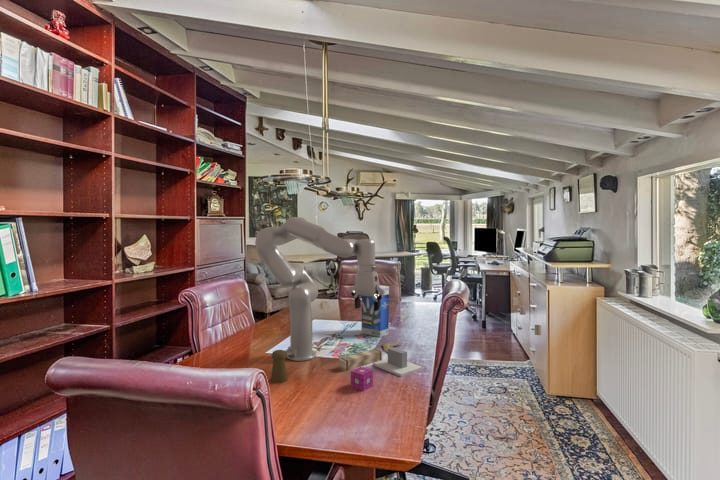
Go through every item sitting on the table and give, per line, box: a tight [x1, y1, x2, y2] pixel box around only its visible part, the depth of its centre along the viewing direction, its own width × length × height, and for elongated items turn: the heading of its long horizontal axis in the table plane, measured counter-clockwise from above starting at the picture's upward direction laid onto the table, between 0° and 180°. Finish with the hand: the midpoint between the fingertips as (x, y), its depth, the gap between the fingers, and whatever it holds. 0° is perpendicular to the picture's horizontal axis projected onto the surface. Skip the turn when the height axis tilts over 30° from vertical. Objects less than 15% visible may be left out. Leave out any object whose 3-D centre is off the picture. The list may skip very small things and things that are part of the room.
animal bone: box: [381, 341, 403, 354], centre depth 175 cm, size 21×2×10 cm
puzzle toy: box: [350, 366, 374, 392], centre depth 138 cm, size 6×6×6 cm
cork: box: [270, 349, 288, 384], centre depth 143 cm, size 6×6×11 cm
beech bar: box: [338, 348, 383, 372], centre depth 160 cm, size 20×4×4 cm, turn 130°
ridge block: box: [372, 346, 423, 377], centre depth 156 cm, size 12×16×7 cm
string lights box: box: [361, 284, 390, 338], centre depth 205 cm, size 13×8×26 cm, turn 49°
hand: (367, 309), depth 163 cm, fingers open, 9 cm apart
